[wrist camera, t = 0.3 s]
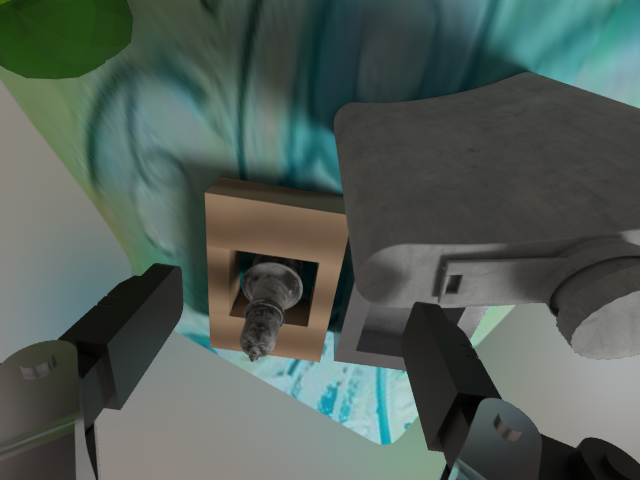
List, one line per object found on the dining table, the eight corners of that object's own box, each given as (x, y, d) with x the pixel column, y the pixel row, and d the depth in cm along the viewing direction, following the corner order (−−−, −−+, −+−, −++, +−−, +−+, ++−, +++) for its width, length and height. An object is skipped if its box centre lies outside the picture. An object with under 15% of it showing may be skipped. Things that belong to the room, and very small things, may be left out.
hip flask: (547, 68, 22) (1091, 229, 7) (532, 124, 25) (905, 338, 9) (330, 106, 24) (359, 311, 8) (337, 155, 26) (369, 386, 11)
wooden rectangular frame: (220, 176, 28) (204, 192, 24) (350, 197, 28) (353, 215, 25) (222, 320, 37) (210, 347, 33) (320, 334, 37) (319, 361, 34)
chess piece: (243, 276, 34) (202, 372, 23) (260, 234, 31) (223, 321, 20) (293, 295, 35) (276, 395, 24) (314, 255, 32) (305, 349, 21)
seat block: (356, 241, 31) (359, 263, 27) (482, 260, 31) (500, 285, 28) (333, 333, 37) (333, 360, 34) (438, 347, 38) (449, 376, 34)
